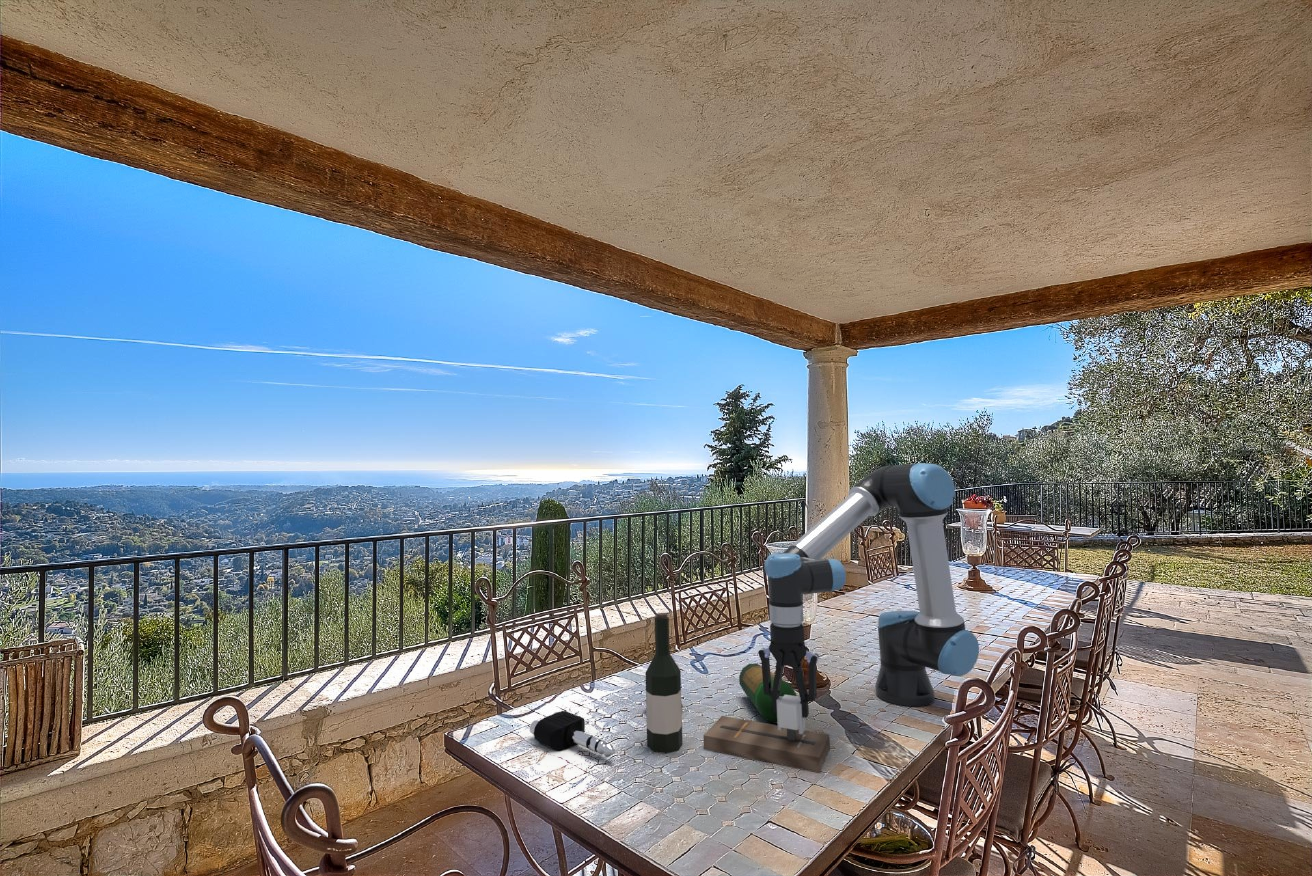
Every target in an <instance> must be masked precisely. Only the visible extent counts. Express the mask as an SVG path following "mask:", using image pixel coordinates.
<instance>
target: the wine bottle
mask: <svg viewBox="0 0 1312 876" xmlns="http://www.w3.org/2000/svg"><path fill="white" fill-rule="evenodd" d="M654 647H655V653H654V656H653V658H652V660H651V662H650V663H649V665H648V667H647V669H646V671H645V701H646V702H645V711H646V717H645V719H646V747H647V748H648V749H650V750H651V752H653V753H657V754H671V753H675V752H678V751H680V750H681V747H682V745H683V744H684V743H683V715H682V714H683V713H682V712H683V711H682V710H683V707H682V705H683V704H682V705H681V701H682V678H681V677H682V676H681V675H682V674H681V673H682V672H681V669H680V668H679V665H678V664H677V662H676V661H675V660H674V657H673V656H672V654H671V653H670V651H671V650H670V649H671V648H670V618H669V616H668V613H666V612H659V613H658V612H657V613H656V616H655V617H654Z"/></svg>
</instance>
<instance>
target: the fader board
mask: <svg viewBox="0 0 1312 876" xmlns="http://www.w3.org/2000/svg"><path fill="white" fill-rule="evenodd" d="M830 738H831V737H830V734H829V733H823V732H817V731H812V730H806V729H805V731H804V732H803V734H799V728H798V729H797V730H796V739H795V741H793V740H787V728H783V729H782V730H781V731H780V730H778V724H777V725H776V724H773V723H771V724H770V723H766V722H765V723H764V722H760V721H759V722H758V721H754V720H748V719H743V718H742V719H741V718H737V717H731V716H726V715H725V716H724V715H721V716H720V717H719V718H718V719H717V721H716V722H714V723H713V725H712V726H711V727H710V728H709V729H708V730H707V731H706V732H705V733H704V734H703V749H704V750H707V751H708V750H709V751H713V752H718V753H722V754H726V755H731V756H737V757H742V758H746V759H750V760H751V759H752V760H758V761H760V762H764V763H765V762H766V763H771V764H775V765H776V764H777V765H781V766H785V767H791V768H796V769H801V770H804V771H810V772H815V773H821V770H822V768H823V765H824V763H825V760H826V759H827V757H828V754H829V752H830V750H831V739H830Z"/></svg>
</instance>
